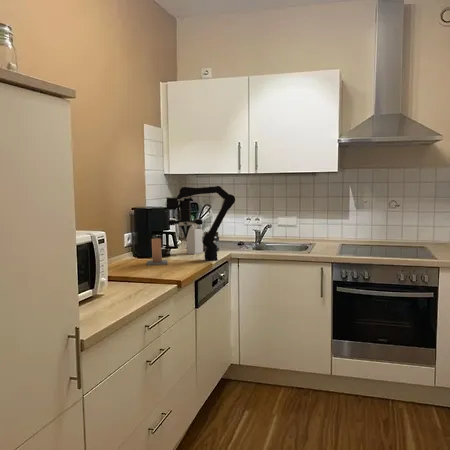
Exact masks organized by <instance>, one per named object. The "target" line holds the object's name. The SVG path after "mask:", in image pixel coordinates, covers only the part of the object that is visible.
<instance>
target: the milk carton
mask: <svg viewBox="0 0 450 450" xmlns="http://www.w3.org/2000/svg"><path fill="white" fill-rule="evenodd" d="M203 236H204V234H203V228H202V227H201V226H200V225H197V224H196V223H194V224H192V226H191V227H190V229H189V231H188V234H187V238H186V254H187V255H188V254H189V255H199V254H204V250H203V243H202V237H203Z"/></svg>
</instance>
